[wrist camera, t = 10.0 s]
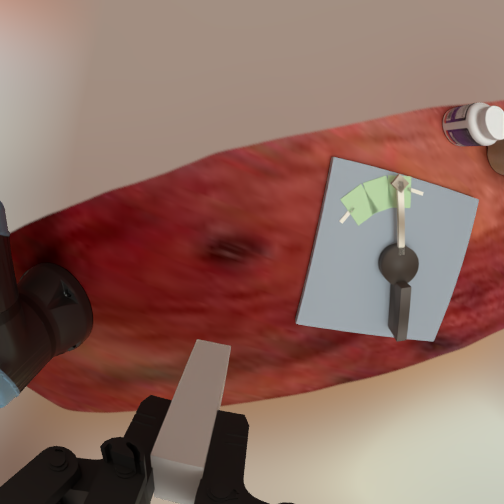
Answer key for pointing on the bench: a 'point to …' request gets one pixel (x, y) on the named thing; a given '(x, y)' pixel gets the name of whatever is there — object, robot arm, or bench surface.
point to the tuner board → (374, 242)
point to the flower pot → (496, 156)
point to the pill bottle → (474, 125)
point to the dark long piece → (399, 269)
